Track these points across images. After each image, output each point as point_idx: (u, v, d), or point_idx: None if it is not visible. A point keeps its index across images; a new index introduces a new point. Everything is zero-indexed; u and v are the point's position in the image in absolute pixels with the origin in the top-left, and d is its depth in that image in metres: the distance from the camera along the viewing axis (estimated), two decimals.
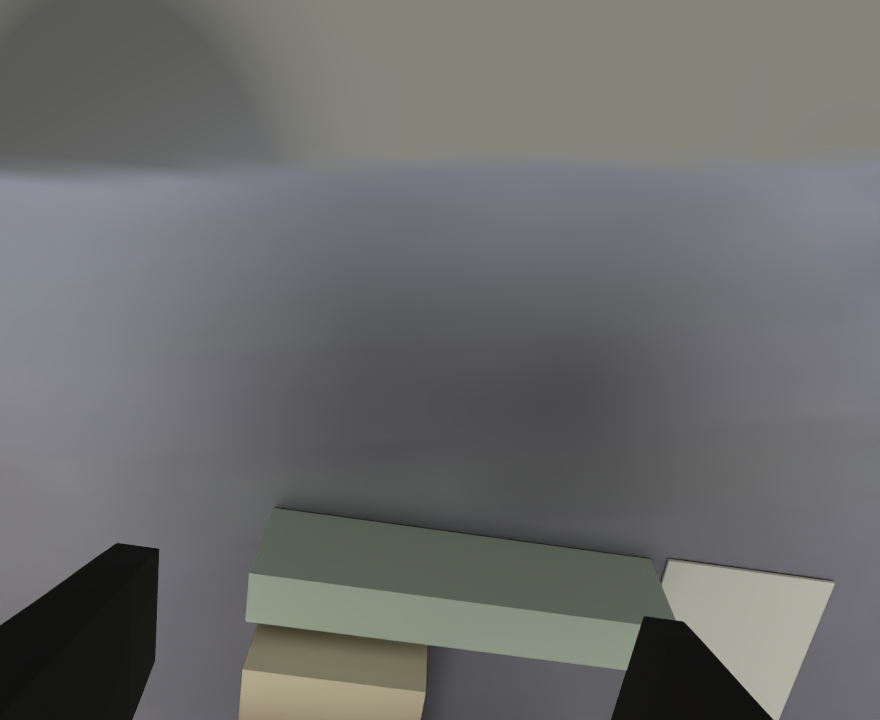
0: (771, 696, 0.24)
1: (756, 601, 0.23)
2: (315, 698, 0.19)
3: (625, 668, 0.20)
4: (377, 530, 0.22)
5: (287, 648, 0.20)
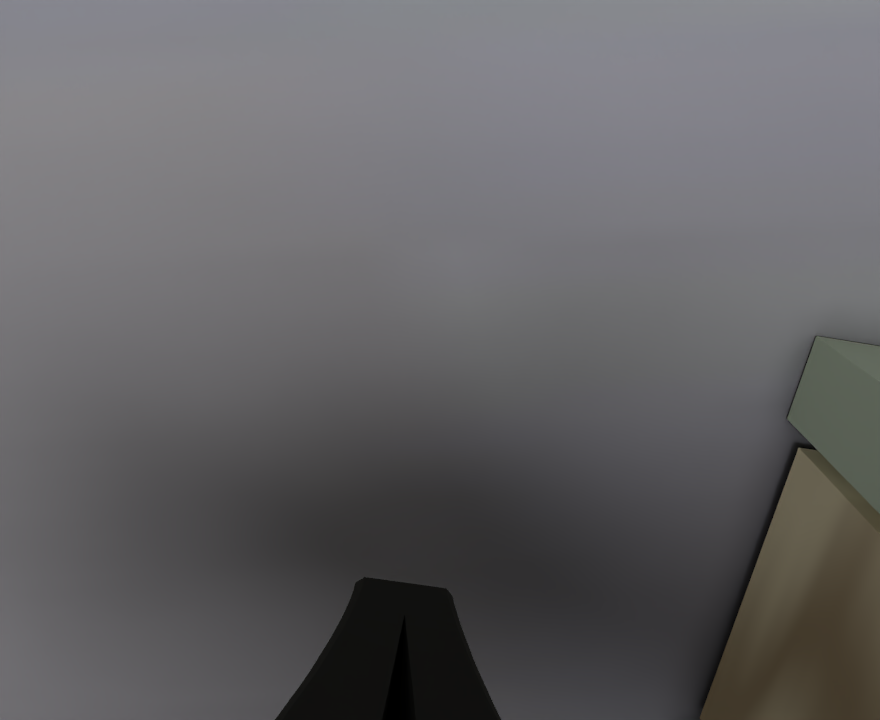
0: None
1: None
2: None
3: None
4: None
5: None
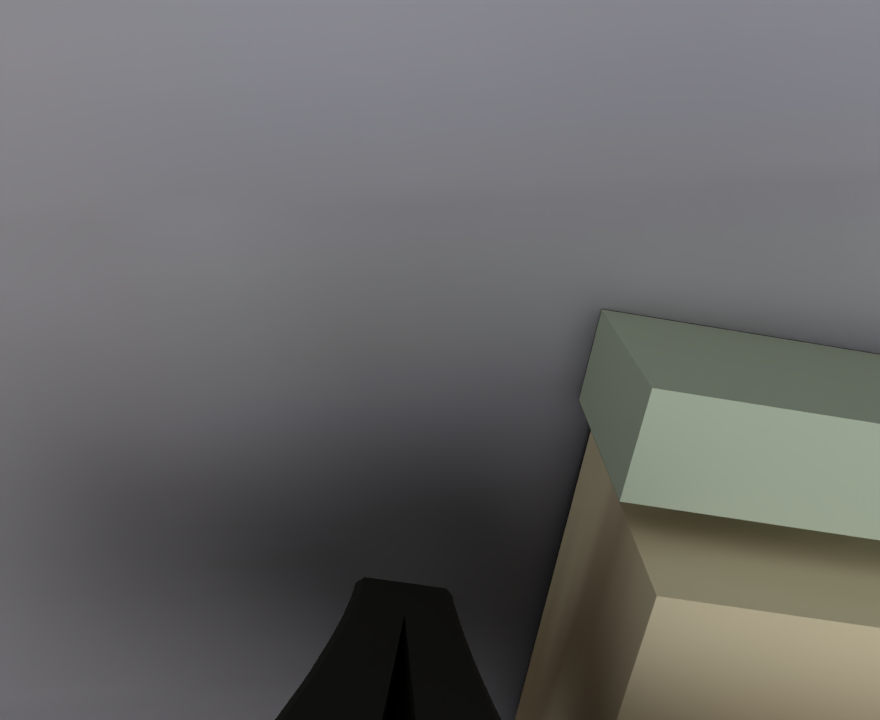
0: None
1: None
2: (801, 663, 0.09)
3: None
4: (806, 350, 0.11)
5: (711, 557, 0.09)
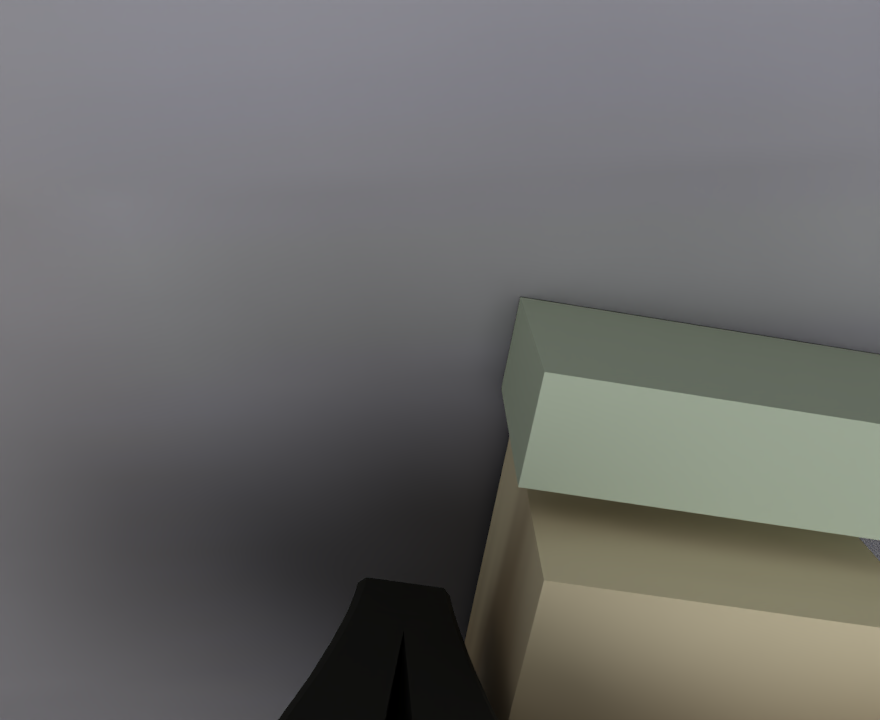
0: None
1: None
2: (694, 648, 0.09)
3: None
4: (724, 337, 0.11)
5: (610, 543, 0.09)
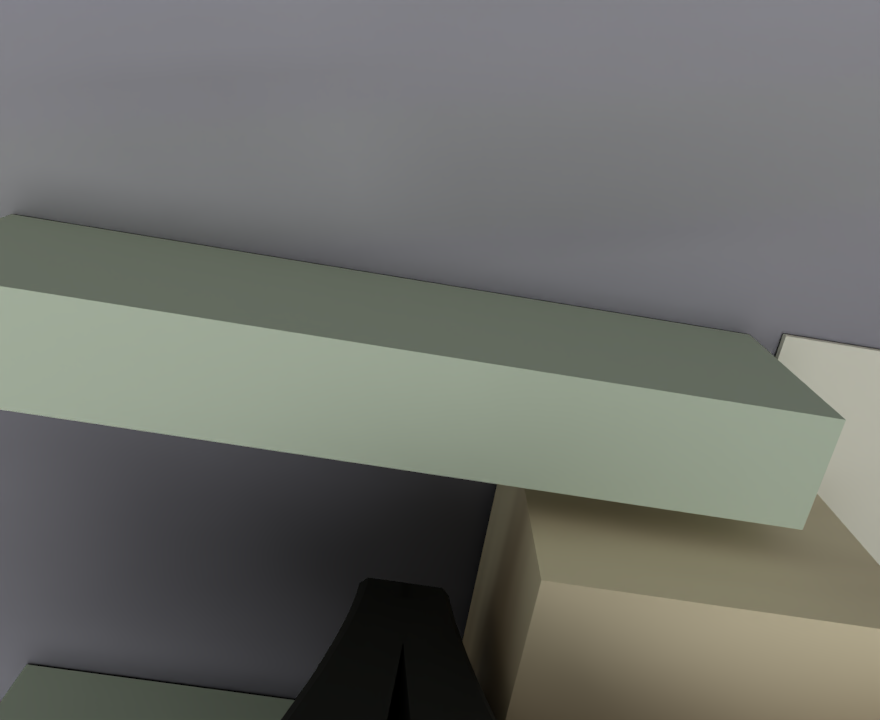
0: None
1: None
2: (690, 649, 0.09)
3: (719, 512, 0.09)
4: (211, 254, 0.11)
5: (608, 543, 0.09)
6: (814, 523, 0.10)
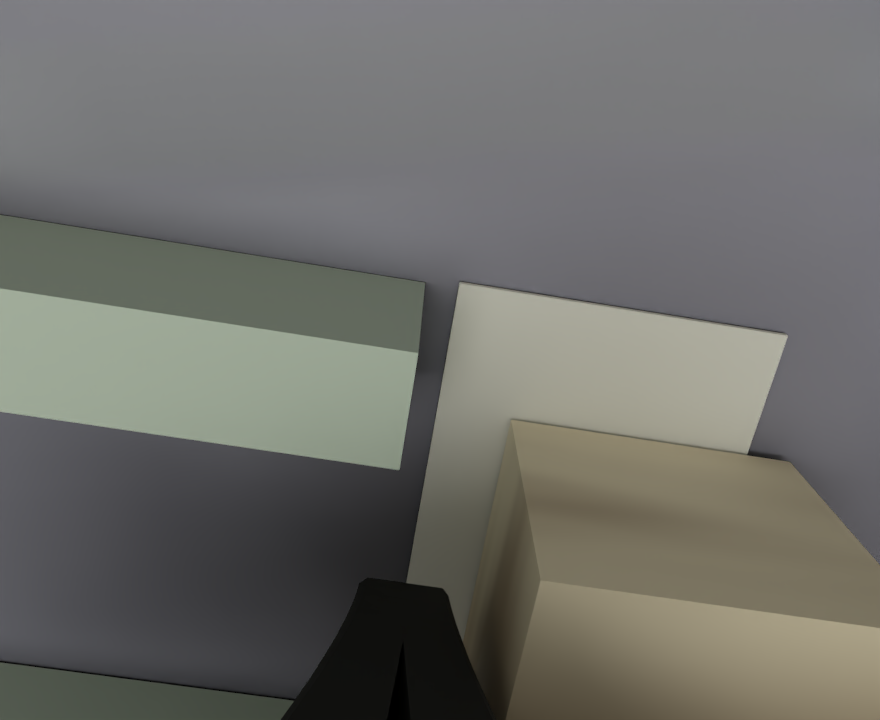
0: None
1: (636, 374, 0.12)
2: (690, 648, 0.09)
3: (309, 452, 0.09)
4: None
5: (607, 543, 0.09)
6: (814, 523, 0.10)
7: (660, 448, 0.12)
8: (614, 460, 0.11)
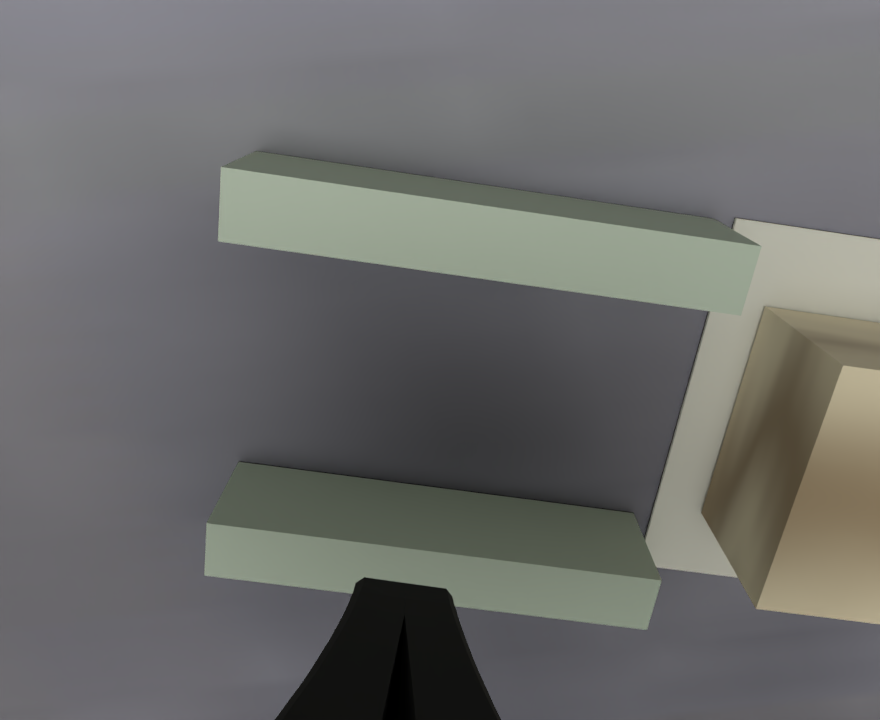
0: None
1: (840, 275, 0.19)
2: None
3: (692, 305, 0.16)
4: (381, 172, 0.18)
5: (864, 355, 0.16)
6: None
7: (860, 322, 0.19)
8: (839, 325, 0.18)
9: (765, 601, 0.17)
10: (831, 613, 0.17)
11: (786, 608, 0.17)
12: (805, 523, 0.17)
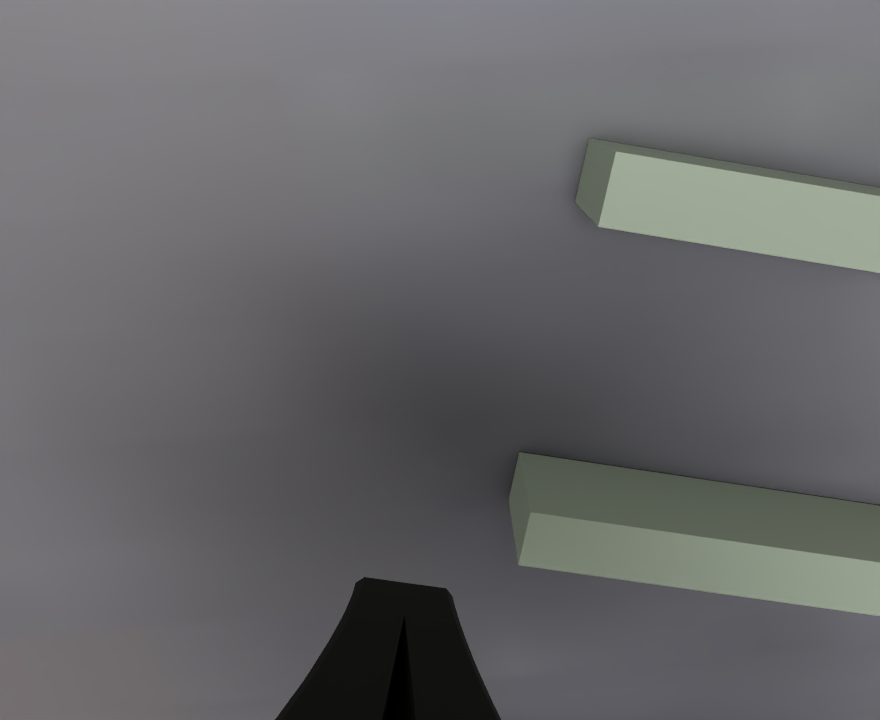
0: None
1: None
2: None
3: None
4: (720, 161, 0.18)
5: None
6: None
7: None
8: None
9: None
10: None
11: None
12: None
